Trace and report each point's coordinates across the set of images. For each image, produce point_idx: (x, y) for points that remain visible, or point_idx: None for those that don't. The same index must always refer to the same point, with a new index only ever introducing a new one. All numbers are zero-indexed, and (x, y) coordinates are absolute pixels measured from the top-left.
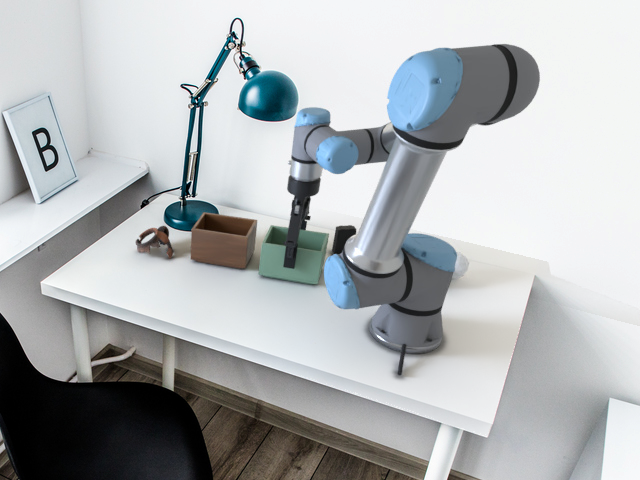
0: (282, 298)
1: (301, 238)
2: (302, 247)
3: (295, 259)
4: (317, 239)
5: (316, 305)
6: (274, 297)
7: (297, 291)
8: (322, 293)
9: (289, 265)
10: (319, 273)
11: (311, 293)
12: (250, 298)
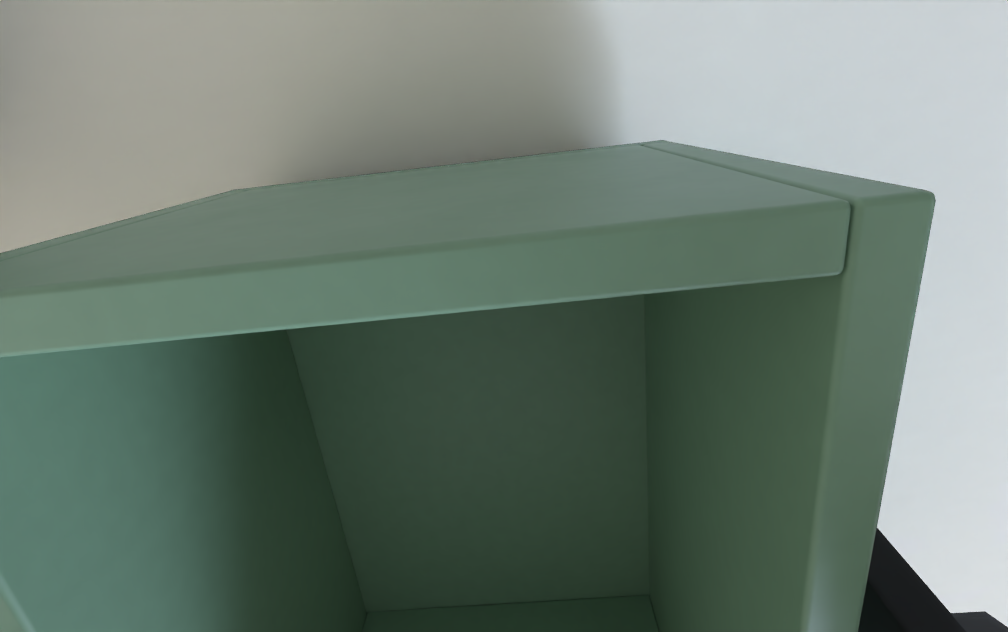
0: (914, 356)
1: (186, 605)
2: (244, 486)
3: (874, 542)
4: (81, 429)
5: (988, 50)
6: (910, 411)
7: None
8: (738, 56)
9: None
10: (692, 148)
11: (768, 158)
12: (957, 540)
